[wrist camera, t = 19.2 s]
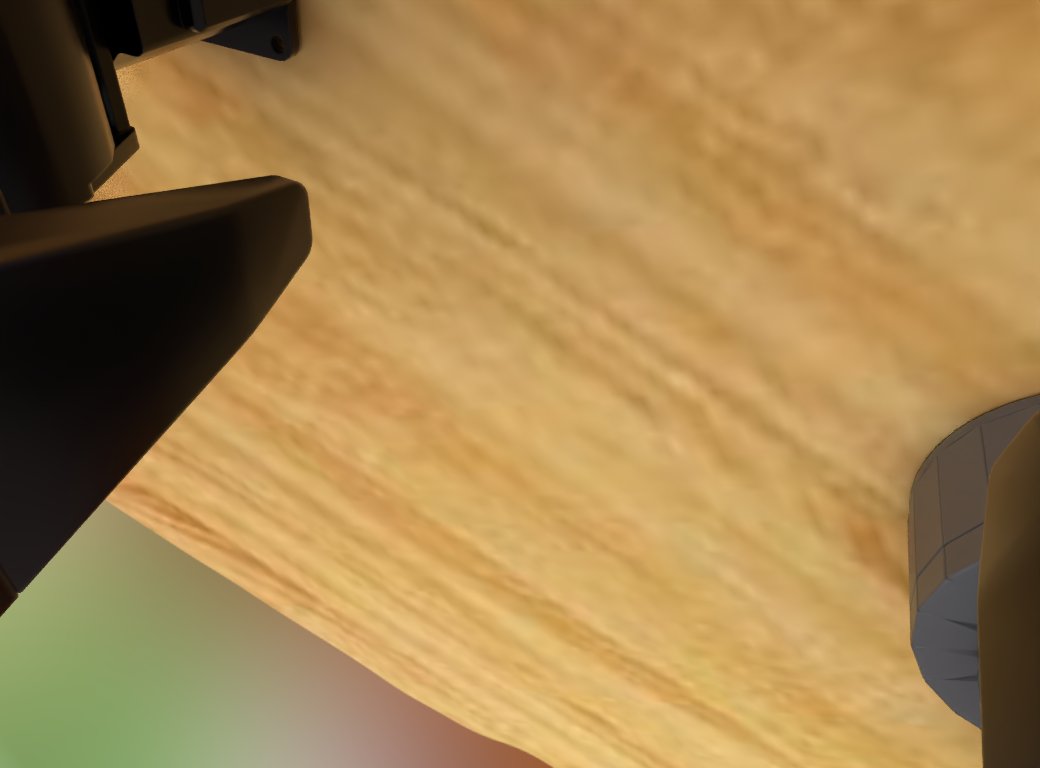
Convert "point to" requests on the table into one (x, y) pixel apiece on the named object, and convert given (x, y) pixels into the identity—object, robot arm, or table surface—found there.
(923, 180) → the table surface
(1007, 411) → the grey pot
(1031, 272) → the table surface
